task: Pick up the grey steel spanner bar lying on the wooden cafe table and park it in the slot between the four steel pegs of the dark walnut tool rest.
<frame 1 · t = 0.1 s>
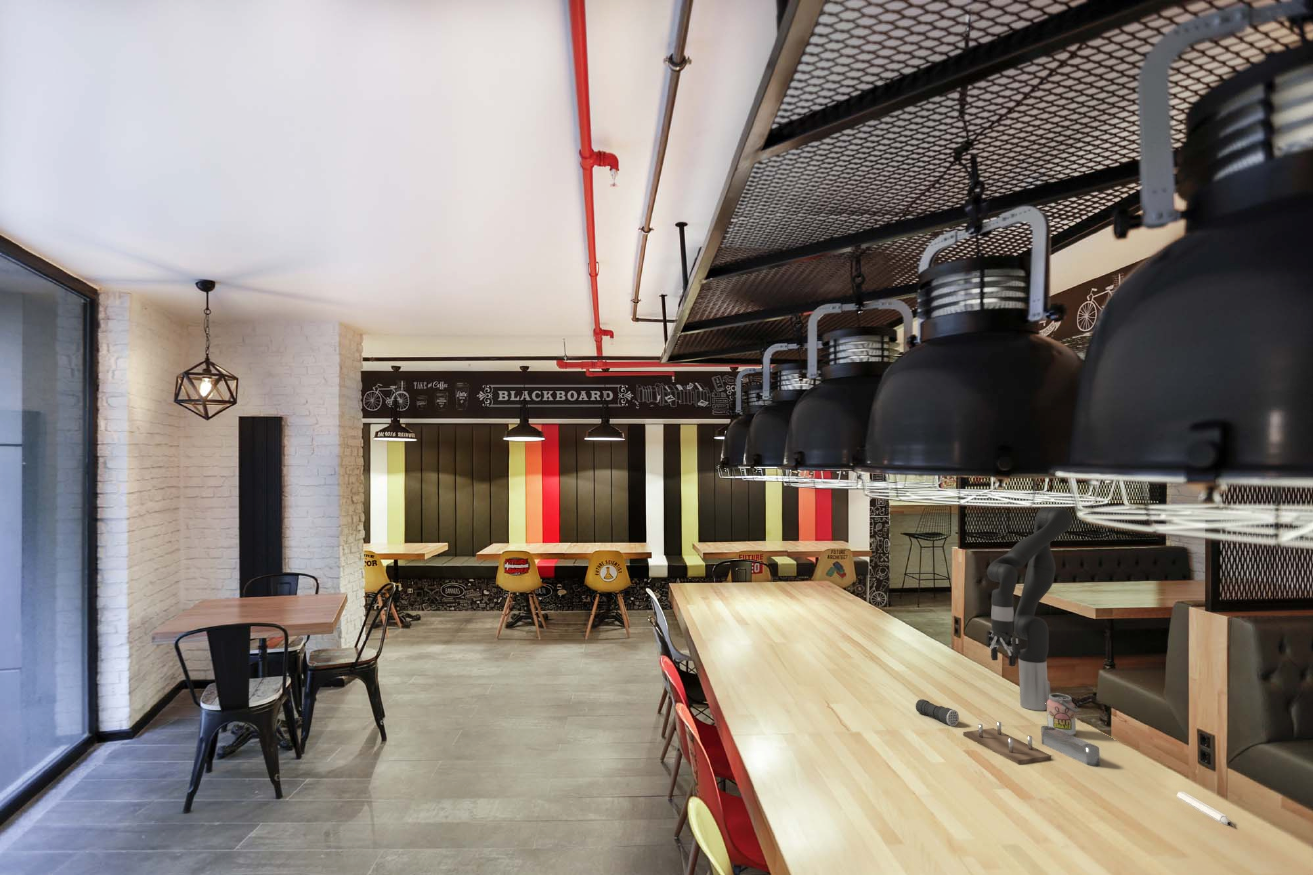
hand: (1003, 663, 255), 17 cm above the table, fingers open, 8 cm apart
tool rest: (1005, 746, 221), on the table
beverage can: (1063, 733, 232), on the table
spanner bar: (1069, 753, 215), on the table
flashlight: (937, 720, 247), on the table
marker: (1206, 815, 177), on the table
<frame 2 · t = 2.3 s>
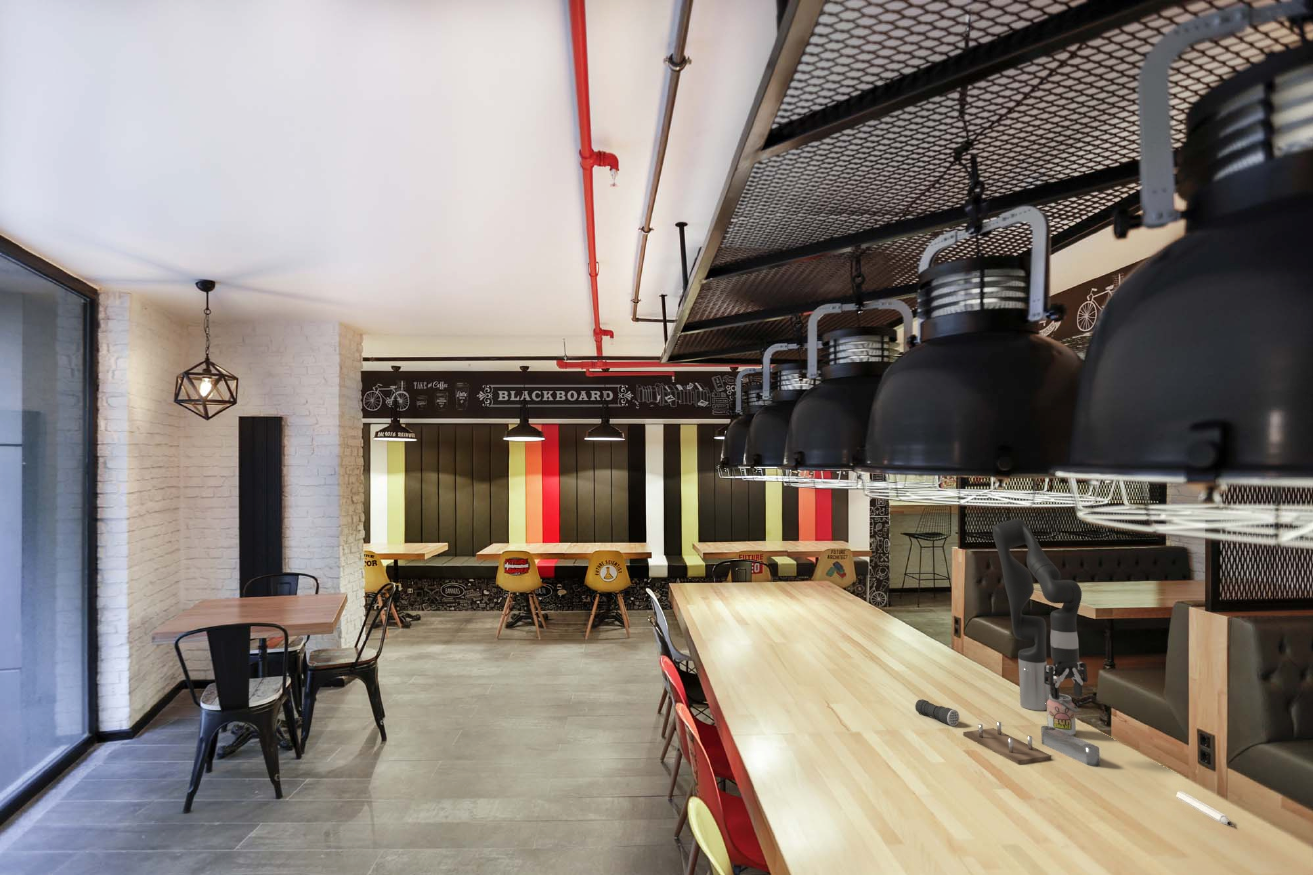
hand: (1066, 697, 216), 17 cm above the table, fingers open, 8 cm apart
nothing on the table moved.
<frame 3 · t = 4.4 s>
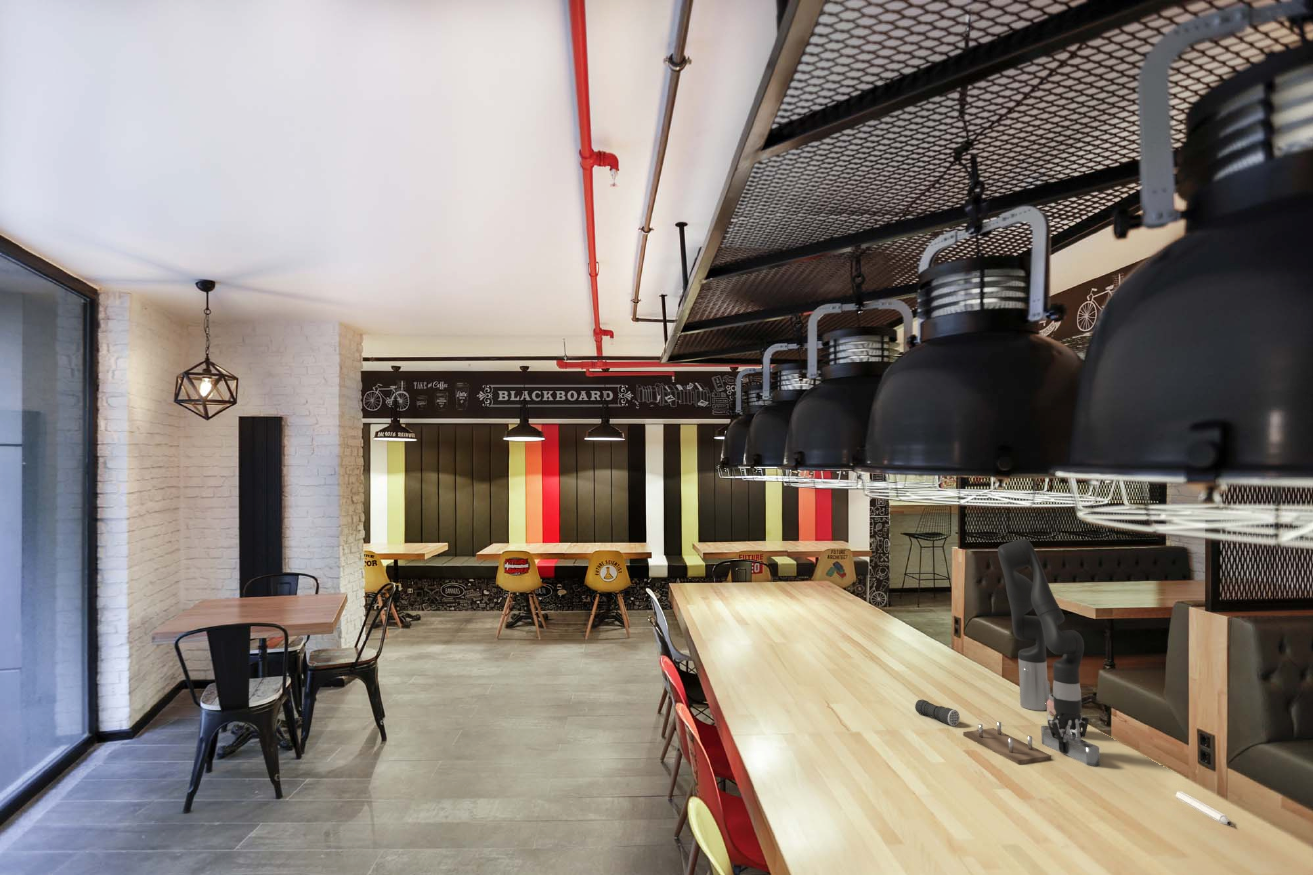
hand: (1069, 751, 215), 0 cm above the table, fingers closed on spanner bar, 4 cm apart
spanner bar: (1069, 753, 215), on the table, touching gripper
everything else where it was.
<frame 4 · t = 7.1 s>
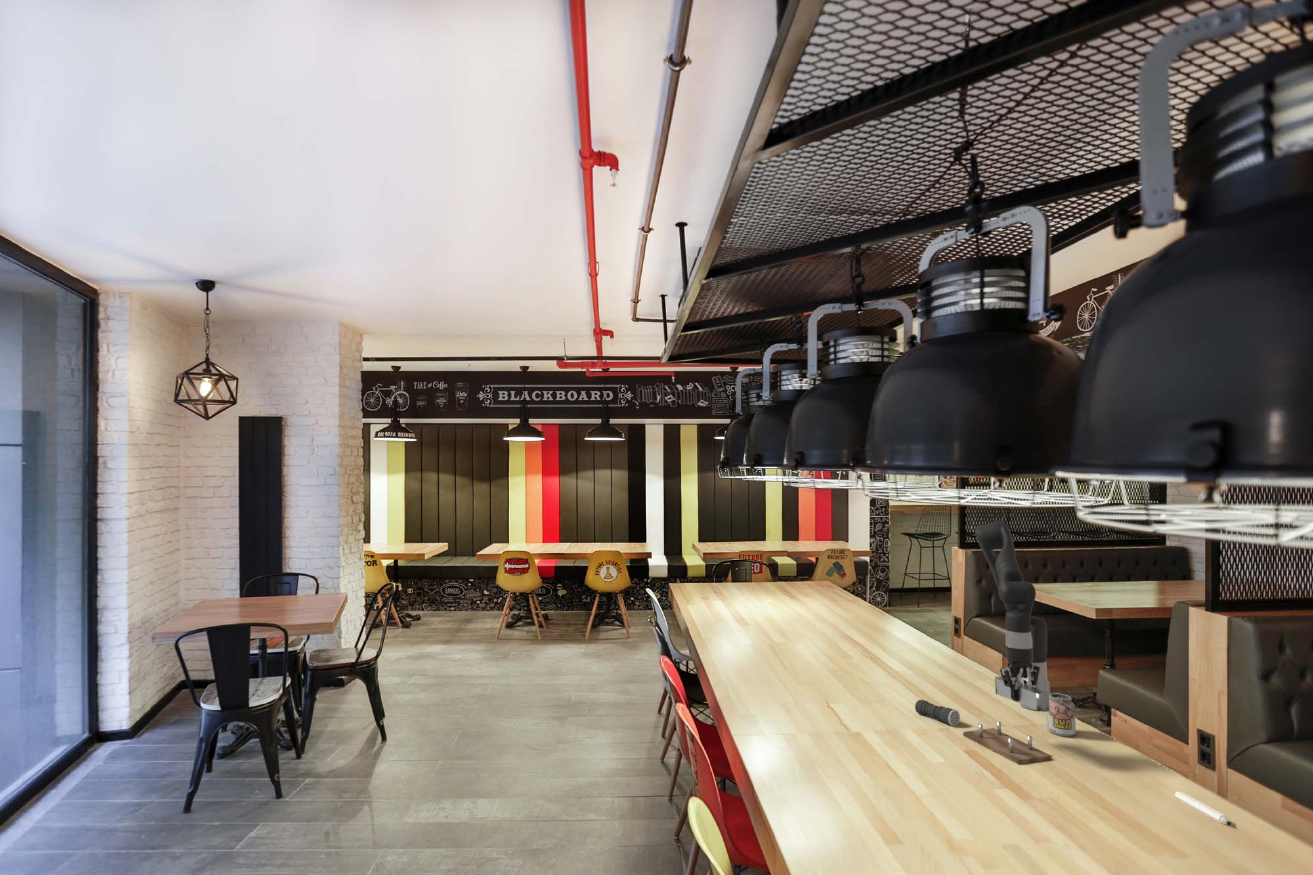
hand: (1021, 699, 220), 15 cm above the table, fingers closed on spanner bar, 4 cm apart
spanner bar: (1021, 701, 220), point 15 cm above the table, touching gripper
everything else where it was.
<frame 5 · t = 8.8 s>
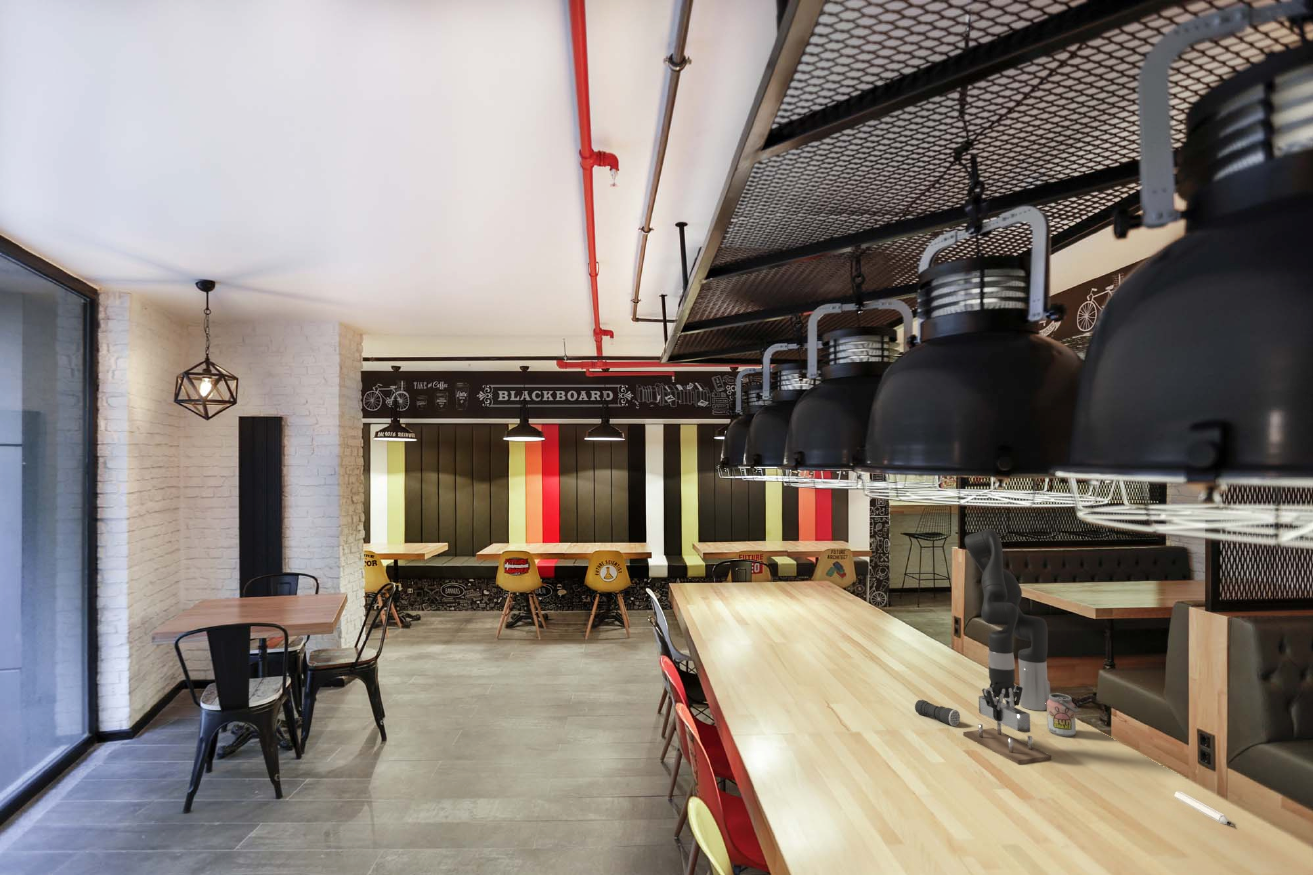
hand: (1003, 719, 221), 8 cm above the table, fingers closed on spanner bar, 4 cm apart
spanner bar: (1003, 721, 221), point 8 cm above the table, touching gripper
everything else where it was.
when the fingers open (3 cm above the table, at t = 10.2 s): spanner bar drops 1 cm, resting on tool rest.
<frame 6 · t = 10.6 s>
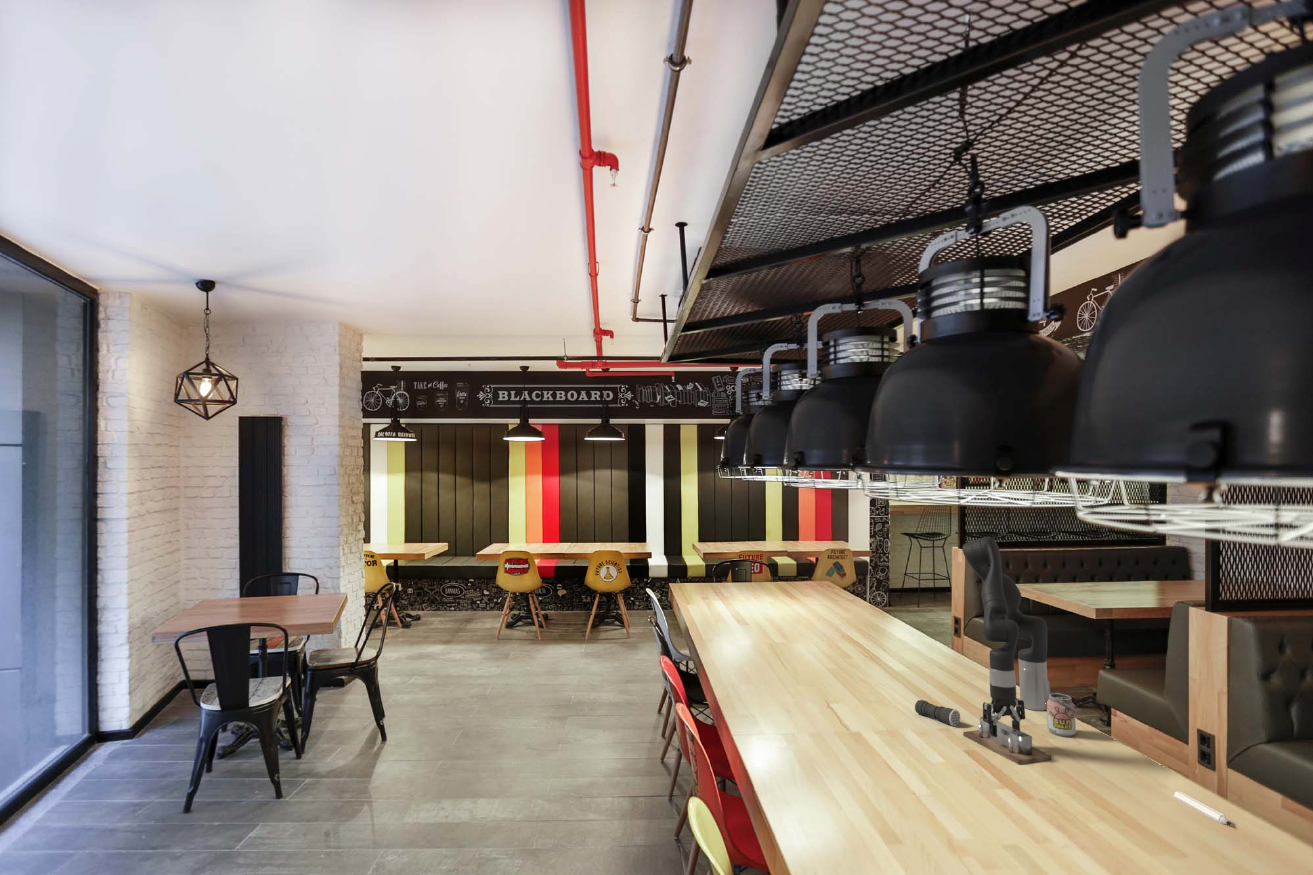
hand: (1004, 734, 221), 4 cm above the table, fingers open, 8 cm apart
spanner bar: (1005, 743, 221), point 1 cm above the table, touching tool rest
everything else where it was.
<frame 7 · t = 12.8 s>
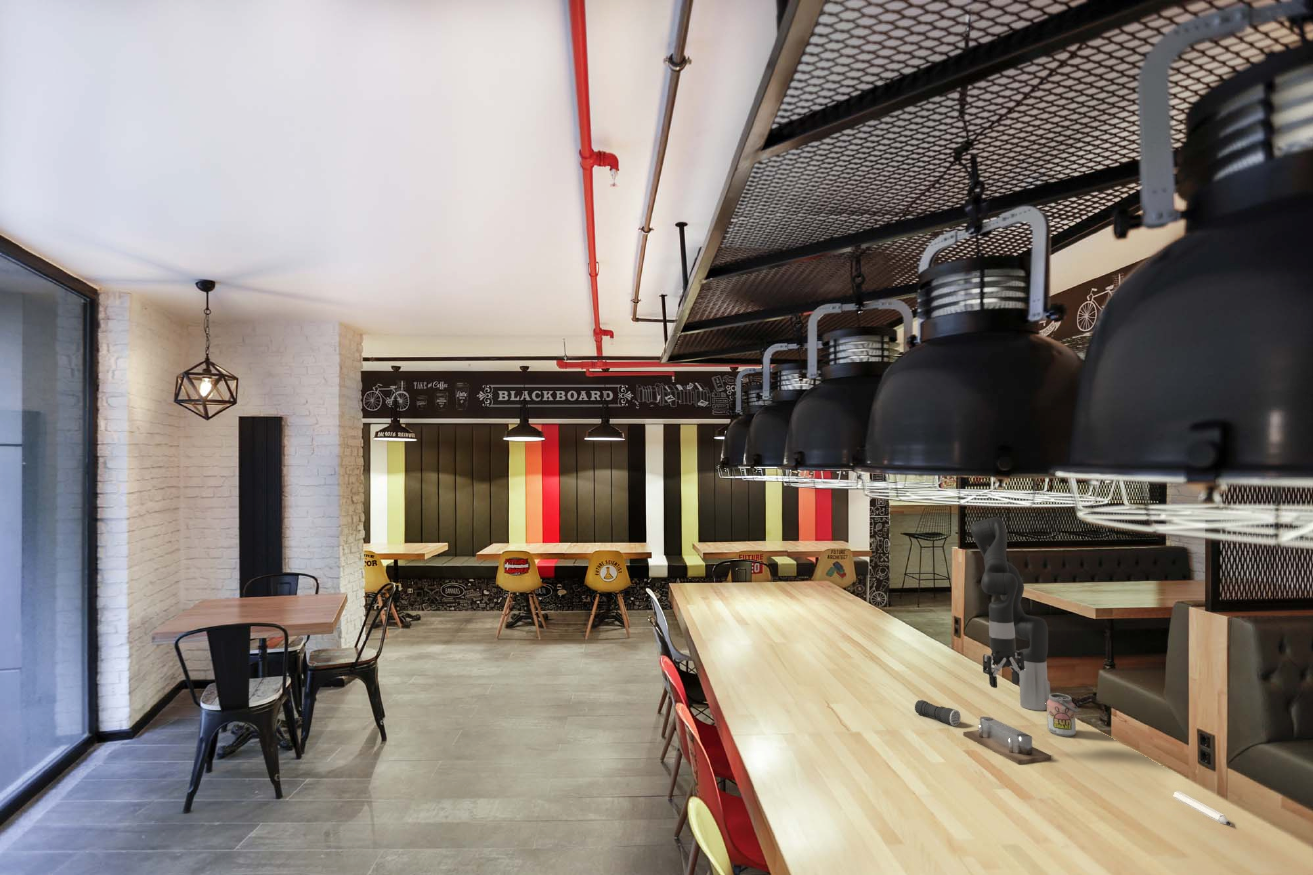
hand: (1004, 685, 224), 18 cm above the table, fingers open, 8 cm apart
nothing on the table moved.
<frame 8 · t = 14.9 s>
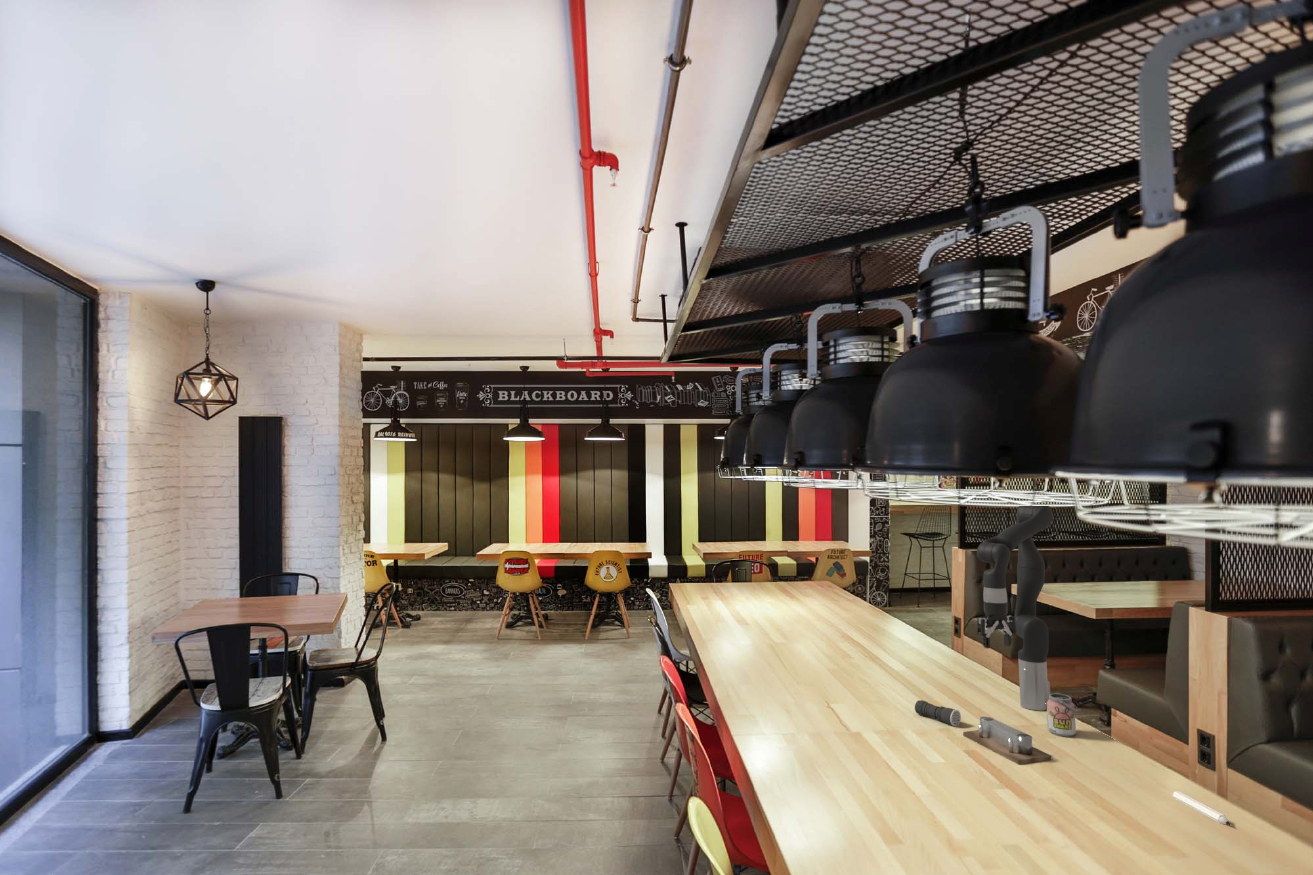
hand: (997, 646, 243), 26 cm above the table, fingers open, 8 cm apart
nothing on the table moved.
at the end: spanner bar 0.2 cm off-centre on the tool rest, point 1.2 cm above the tool rest's base; spanner bar tilted 0°; the gripper is holding nothing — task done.
